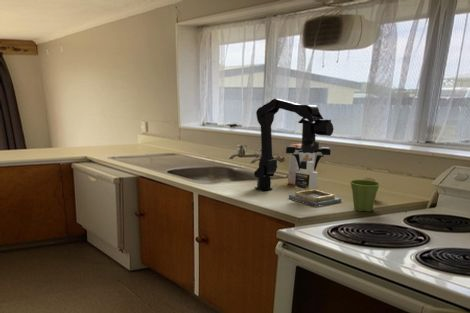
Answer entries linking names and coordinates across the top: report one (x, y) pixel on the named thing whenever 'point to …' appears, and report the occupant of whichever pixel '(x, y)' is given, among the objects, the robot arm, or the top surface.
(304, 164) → the medicine bottle
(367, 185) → the plant pot
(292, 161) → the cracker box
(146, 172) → the top surface
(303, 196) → the picture frame
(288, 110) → the robot arm
